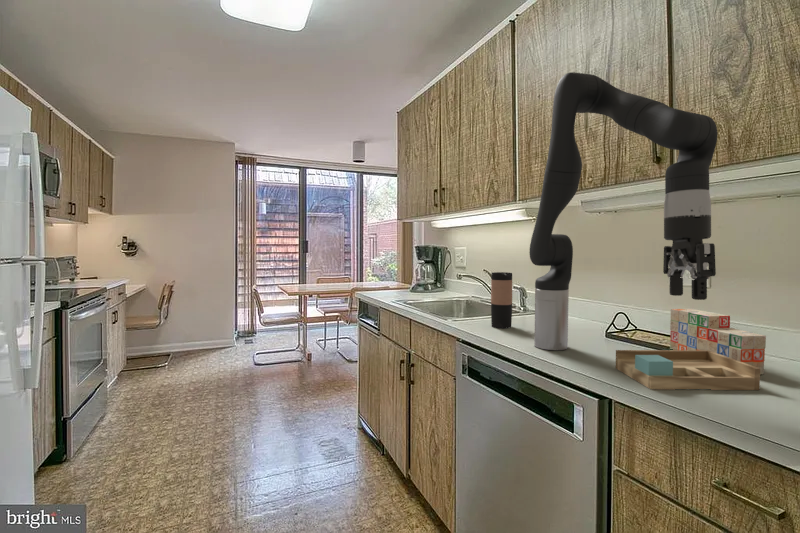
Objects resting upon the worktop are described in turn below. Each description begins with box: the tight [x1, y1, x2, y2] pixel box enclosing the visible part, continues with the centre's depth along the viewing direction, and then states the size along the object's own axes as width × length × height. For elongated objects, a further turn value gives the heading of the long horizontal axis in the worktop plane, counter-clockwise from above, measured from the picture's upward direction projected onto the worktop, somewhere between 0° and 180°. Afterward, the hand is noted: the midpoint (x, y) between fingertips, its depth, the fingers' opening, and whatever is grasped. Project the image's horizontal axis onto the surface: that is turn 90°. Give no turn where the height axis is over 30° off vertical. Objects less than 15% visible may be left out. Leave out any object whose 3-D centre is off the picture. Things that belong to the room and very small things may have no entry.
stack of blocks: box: [669, 308, 767, 375], centre depth 100 cm, size 21×6×12 cm, turn 4°
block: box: [635, 355, 673, 376], centre depth 84 cm, size 5×5×3 cm
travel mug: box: [490, 271, 513, 329], centre depth 144 cm, size 8×8×20 cm
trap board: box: [615, 349, 761, 391], centre depth 87 cm, size 14×22×4 cm, turn 88°
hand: (687, 297), depth 77 cm, fingers open, 8 cm apart
